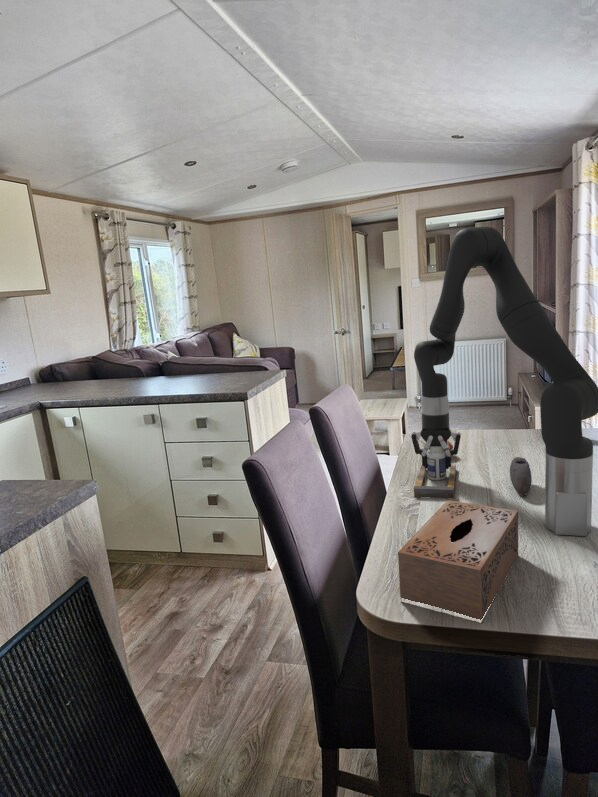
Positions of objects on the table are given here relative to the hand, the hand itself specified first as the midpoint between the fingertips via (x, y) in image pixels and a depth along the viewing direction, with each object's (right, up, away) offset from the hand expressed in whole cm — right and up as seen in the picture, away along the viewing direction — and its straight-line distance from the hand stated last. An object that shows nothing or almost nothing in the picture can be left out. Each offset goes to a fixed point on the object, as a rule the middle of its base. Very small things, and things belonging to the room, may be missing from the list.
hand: (436, 467), depth 158 cm
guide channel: (-1, -4, -3) cm, 5 cm away
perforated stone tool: (+19, -4, -13) cm, 23 cm away
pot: (+6, +1, +19) cm, 20 cm away
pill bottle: (0, -3, +1) cm, 3 cm away
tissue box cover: (-8, -15, -52) cm, 55 cm away
